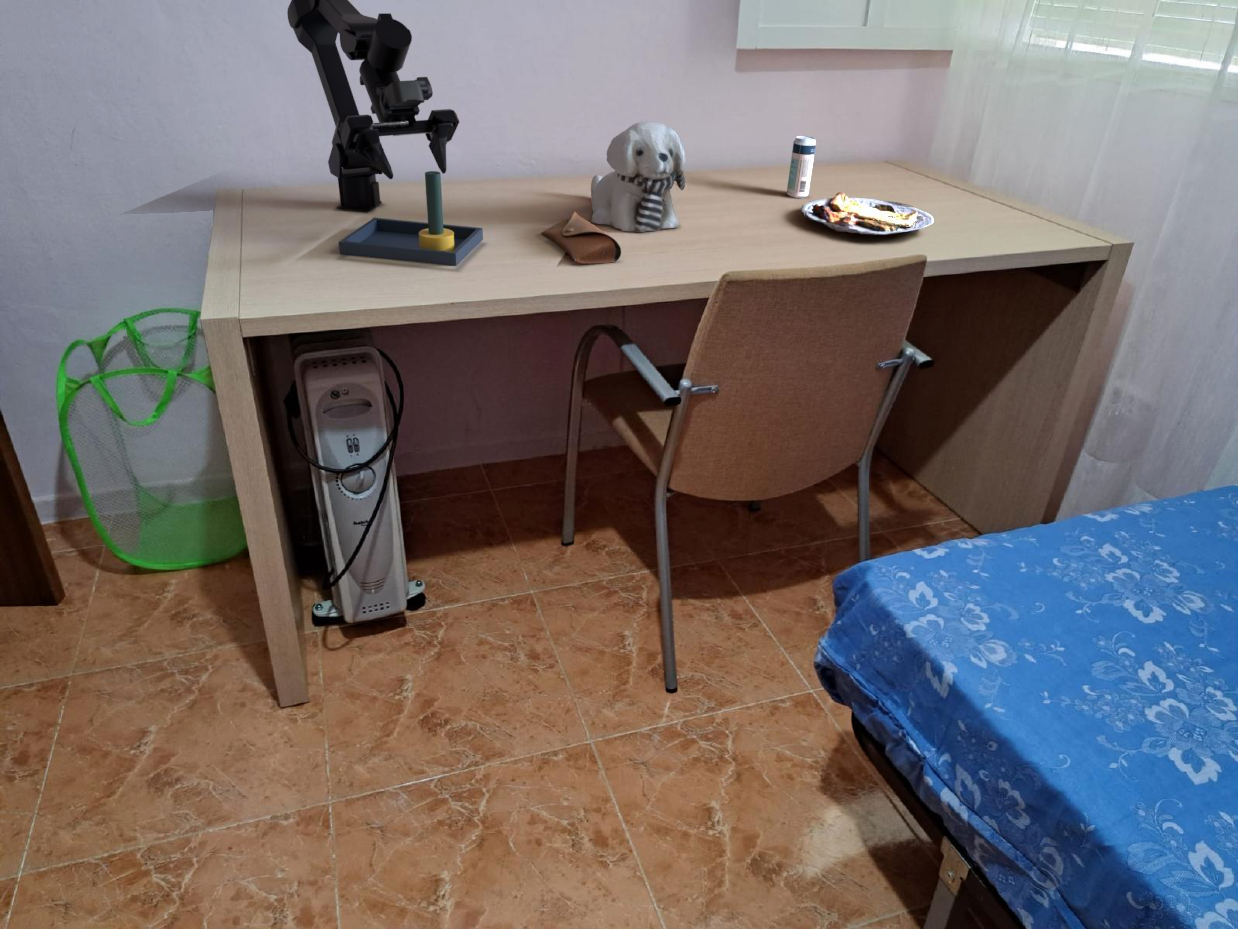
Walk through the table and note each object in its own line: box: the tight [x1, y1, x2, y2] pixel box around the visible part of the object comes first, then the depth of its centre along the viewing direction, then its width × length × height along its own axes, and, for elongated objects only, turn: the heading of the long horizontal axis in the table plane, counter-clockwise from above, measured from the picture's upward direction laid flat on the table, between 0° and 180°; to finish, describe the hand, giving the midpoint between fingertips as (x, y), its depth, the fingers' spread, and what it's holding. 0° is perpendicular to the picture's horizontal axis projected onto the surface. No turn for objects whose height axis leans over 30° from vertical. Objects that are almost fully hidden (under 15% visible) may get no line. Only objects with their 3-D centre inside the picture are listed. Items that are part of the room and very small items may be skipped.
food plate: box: [800, 192, 934, 236], centre depth 177 cm, size 25×23×4 cm
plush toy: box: [590, 121, 687, 233], centre depth 170 cm, size 18×25×18 cm
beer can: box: [786, 135, 817, 199], centre depth 192 cm, size 5×5×12 cm
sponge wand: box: [419, 170, 455, 252], centre depth 145 cm, size 6×6×13 cm
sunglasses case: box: [540, 211, 622, 265], centre depth 156 cm, size 18×7×7 cm
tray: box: [338, 217, 484, 267], centre depth 151 cm, size 20×15×3 cm
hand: (418, 174), depth 146 cm, fingers open, 9 cm apart
